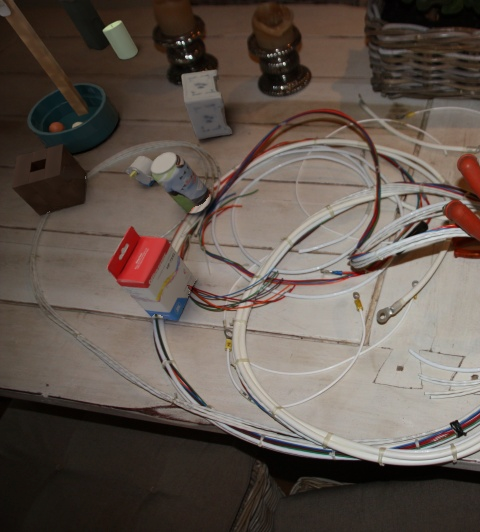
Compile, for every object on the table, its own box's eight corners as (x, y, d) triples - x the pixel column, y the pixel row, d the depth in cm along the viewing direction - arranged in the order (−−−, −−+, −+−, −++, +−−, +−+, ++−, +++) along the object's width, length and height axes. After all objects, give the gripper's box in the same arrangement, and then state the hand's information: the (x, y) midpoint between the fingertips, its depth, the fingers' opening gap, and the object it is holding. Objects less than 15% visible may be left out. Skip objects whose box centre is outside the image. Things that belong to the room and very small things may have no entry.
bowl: (42, 164, 114) (23, 143, 109) (48, 116, 124) (31, 94, 119) (119, 143, 116) (104, 121, 111) (120, 97, 125) (106, 75, 120)
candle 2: (114, 56, 135) (95, 25, 128) (129, 45, 137) (112, 14, 130) (126, 62, 133) (108, 31, 126) (142, 50, 135) (125, 20, 128)
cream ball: (72, 137, 117) (69, 130, 114) (75, 124, 117) (72, 118, 115) (88, 140, 118) (85, 133, 115) (90, 127, 118) (88, 120, 116)
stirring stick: (78, 116, 118) (-16, -11, 95) (79, 109, 119) (-14, -17, 96) (88, 113, 118) (-3, -14, 95) (89, 107, 119) (-2, -20, 96)
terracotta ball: (68, 136, 119) (53, 140, 117) (62, 125, 119) (47, 128, 117) (67, 129, 116) (52, 133, 115) (61, 118, 117) (45, 121, 115)
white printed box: (238, 133, 114) (219, 92, 105) (199, 144, 113) (177, 104, 104) (232, 105, 119) (214, 64, 111) (195, 115, 118) (174, 75, 110)
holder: (39, 215, 106) (11, 188, 99) (43, 184, 111) (17, 156, 104) (84, 203, 107) (59, 174, 100) (86, 172, 112) (63, 143, 105)
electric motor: (127, 187, 108) (113, 169, 104) (141, 170, 110) (129, 152, 106) (154, 194, 106) (142, 176, 102) (169, 177, 108) (157, 159, 104)
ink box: (178, 322, 89) (133, 272, 77) (151, 318, 90) (102, 269, 78) (198, 278, 93) (158, 225, 81) (172, 275, 94) (129, 223, 82)
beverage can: (216, 212, 102) (189, 166, 92) (178, 223, 101) (146, 178, 91) (213, 188, 105) (187, 142, 95) (176, 199, 105) (146, 154, 95)
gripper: (-59, -95, 93) (-2, -15, 104) (-85, -40, 82) (-18, 43, 93) (-21, -103, 94) (31, -23, 105) (-42, -50, 82) (19, 34, 93)
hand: (8, 8), depth 99 cm, fingers closed on stirring stick, 2 cm apart
